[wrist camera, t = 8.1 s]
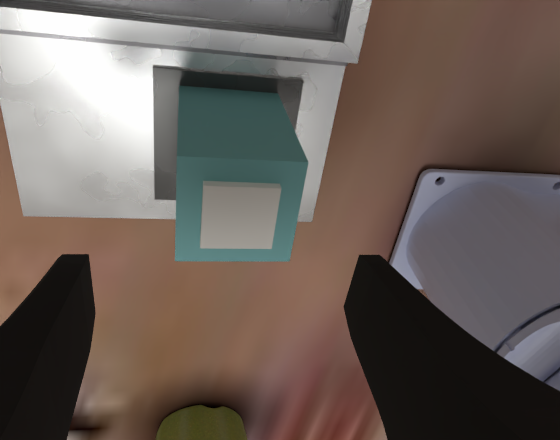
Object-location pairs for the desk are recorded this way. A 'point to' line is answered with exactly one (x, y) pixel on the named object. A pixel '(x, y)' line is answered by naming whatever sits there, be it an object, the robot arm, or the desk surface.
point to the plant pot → (202, 424)
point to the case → (205, 24)
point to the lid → (135, 118)
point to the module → (236, 176)
